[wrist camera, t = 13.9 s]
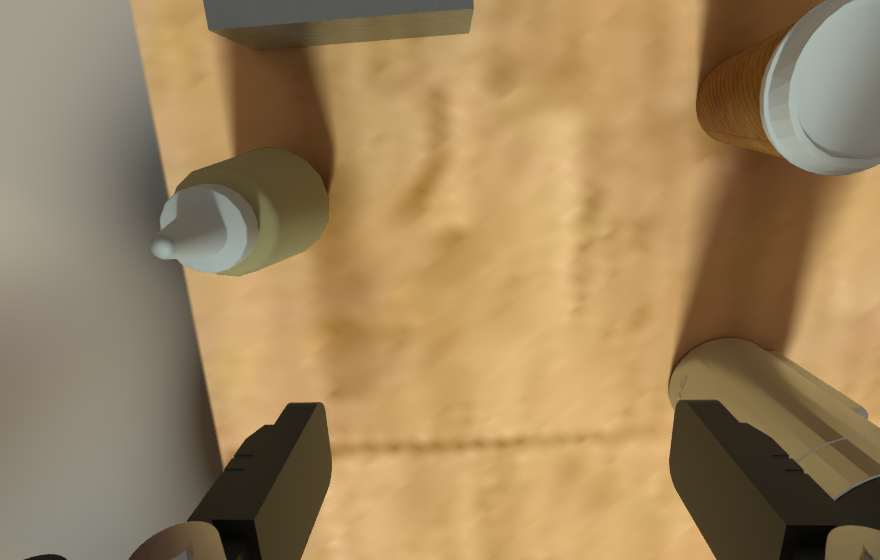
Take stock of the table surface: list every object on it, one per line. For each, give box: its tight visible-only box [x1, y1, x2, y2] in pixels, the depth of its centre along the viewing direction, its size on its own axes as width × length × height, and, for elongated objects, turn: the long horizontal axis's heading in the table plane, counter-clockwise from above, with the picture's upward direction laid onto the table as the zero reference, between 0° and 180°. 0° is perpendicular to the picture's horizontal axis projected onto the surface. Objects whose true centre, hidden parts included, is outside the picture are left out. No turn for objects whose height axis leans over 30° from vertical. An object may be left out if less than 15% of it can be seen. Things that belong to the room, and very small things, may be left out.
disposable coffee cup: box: [696, 0, 880, 176], centre depth 30 cm, size 10×10×12 cm
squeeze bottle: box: [150, 147, 329, 276], centre depth 30 cm, size 8×8×18 cm
